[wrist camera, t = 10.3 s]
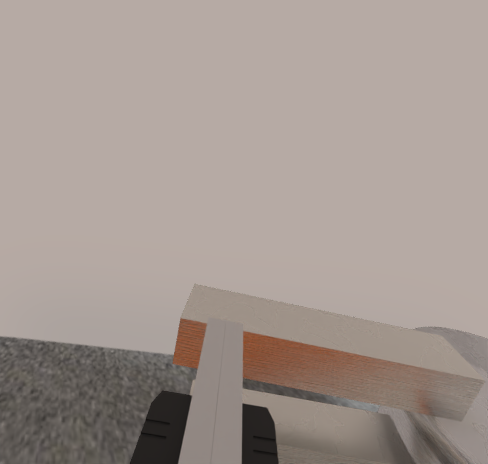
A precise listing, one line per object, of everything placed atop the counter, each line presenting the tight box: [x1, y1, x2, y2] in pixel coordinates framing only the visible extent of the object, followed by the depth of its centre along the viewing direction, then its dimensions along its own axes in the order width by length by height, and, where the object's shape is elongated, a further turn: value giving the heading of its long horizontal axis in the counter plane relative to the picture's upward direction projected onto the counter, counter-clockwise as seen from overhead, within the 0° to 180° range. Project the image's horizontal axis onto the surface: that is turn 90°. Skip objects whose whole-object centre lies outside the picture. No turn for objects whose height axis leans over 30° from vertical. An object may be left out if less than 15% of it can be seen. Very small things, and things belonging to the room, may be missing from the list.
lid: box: [173, 284, 488, 464], centre depth 15 cm, size 28×15×4 cm, turn 88°
